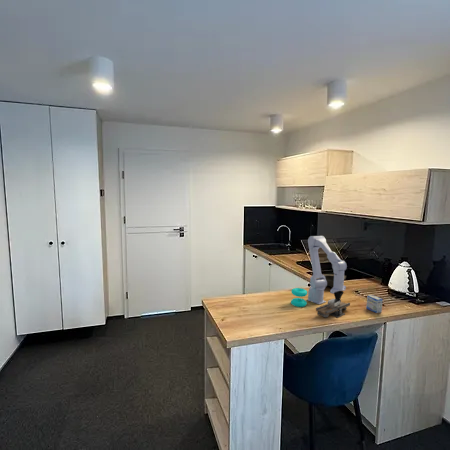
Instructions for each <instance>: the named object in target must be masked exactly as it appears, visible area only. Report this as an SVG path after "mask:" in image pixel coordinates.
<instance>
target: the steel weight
mask: <svg viewBox="0 0 450 450" xmlns="http://www.w3.org/2000/svg"><path fill="white" fill-rule="evenodd" d="M340 300H341V299H340ZM340 300H337V299H335V298H331V299H329V300H327V304H328V305H327V307H328V308H331V309H333V308H336V307H339V306H340Z"/></svg>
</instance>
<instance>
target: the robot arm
mask: <svg viewBox="0 0 450 450" xmlns="http://www.w3.org/2000/svg"><path fill="white" fill-rule="evenodd" d="M307 243H308V244H307V245H308V249H309V250H308V251H309V257H310V263H311V267H312V276H310V278H309V280H310V281H309V285H310V287H309V288H308V291H307V295H308V296H307V300H306V301H308V302H311V303H314V304H317V305H321V304H324V303H327V301H326V300H324V296H325V295H324V293H325V289H326V287H328V285H327V281H326V279H325V276H324V275H325V274H322V268H321V263H320V256H319V249H320V248H321V249H322V251H323V252H324V253H325V254H326V258H327V260H328V261H329V262H330V263H331V268H332V270H333V275H334V285H333V288H331V289H330V293H329V294H333V295H334V299H337V300H342V299H341V298H342V296H343V295H344V294H345V292H344V291H346V289H347V286H346V285H345V284H344V281H345V280H344V276H345V271H346V270H347V269H348V268H347V267H348V265H347V262H346V261H344V260H342V259H341V258H340V257H339V256H338V255H337V253H336V252H335V251H332V249H331V248H330V246H329V244H328V243H327V239H326V238H325V236H324V235H310V236H309V237H308V239H307ZM316 278H320V279H316Z"/></svg>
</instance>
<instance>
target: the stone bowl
mask: <svg viewBox="0 0 450 450" xmlns="http://www.w3.org/2000/svg"><path fill="white" fill-rule="evenodd" d="M323 275H324V276H325V279H326V281H327V287H330V288H331V289H332V288H333V285H334V274H323ZM316 279H320V278H316ZM346 279H347V275H344V281H346Z"/></svg>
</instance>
